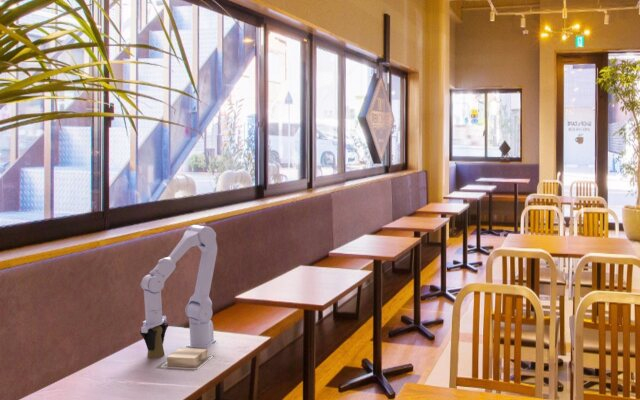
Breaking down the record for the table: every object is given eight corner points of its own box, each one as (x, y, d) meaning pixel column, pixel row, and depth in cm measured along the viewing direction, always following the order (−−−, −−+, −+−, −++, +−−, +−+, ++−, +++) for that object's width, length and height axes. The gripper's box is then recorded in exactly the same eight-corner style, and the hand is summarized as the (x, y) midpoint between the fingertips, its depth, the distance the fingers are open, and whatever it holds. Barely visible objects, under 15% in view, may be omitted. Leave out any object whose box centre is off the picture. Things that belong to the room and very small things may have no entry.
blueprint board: (176, 353, 237) (176, 352, 237) (215, 356, 233) (215, 354, 233) (154, 369, 222) (154, 367, 222) (195, 372, 218) (195, 370, 218)
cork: (160, 359, 231) (158, 328, 230) (144, 359, 232) (142, 328, 231) (167, 354, 237) (166, 323, 236) (151, 353, 238) (150, 323, 237)
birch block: (180, 356, 233) (180, 347, 233) (207, 357, 231) (206, 349, 231) (167, 365, 224) (166, 356, 224) (194, 367, 221) (194, 358, 221)
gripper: (153, 303, 241) (155, 340, 242) (132, 314, 227) (134, 353, 229) (171, 304, 239) (173, 341, 241) (151, 314, 225) (153, 354, 227)
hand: (155, 347), depth 234 cm, fingers open, 6 cm apart
